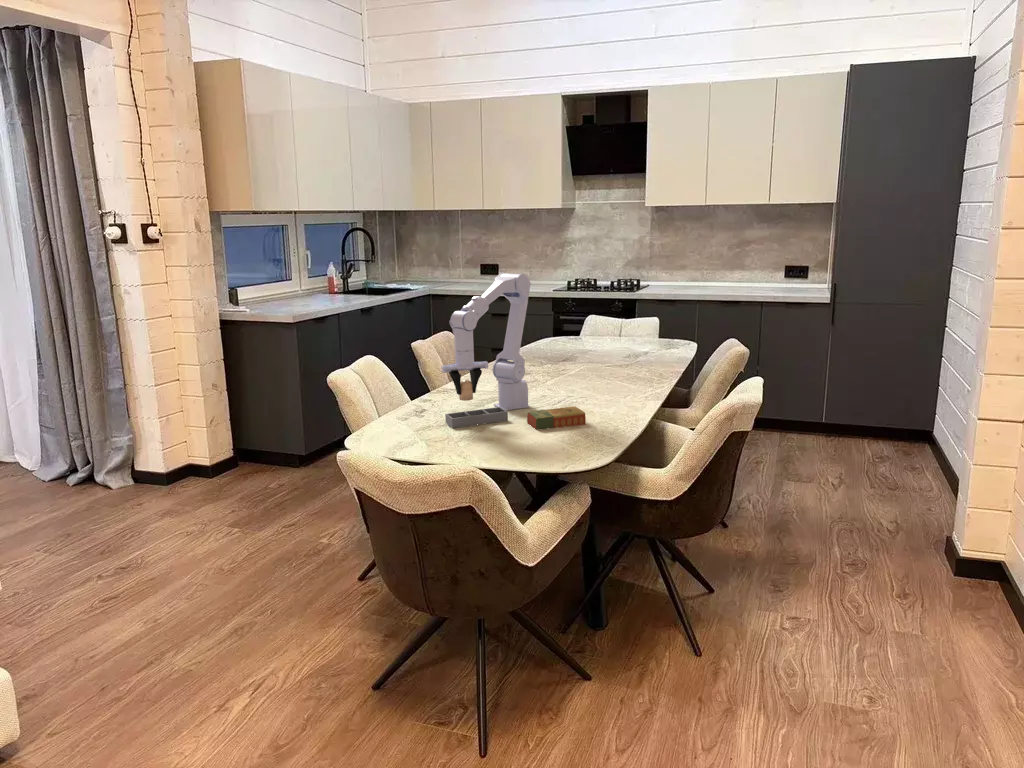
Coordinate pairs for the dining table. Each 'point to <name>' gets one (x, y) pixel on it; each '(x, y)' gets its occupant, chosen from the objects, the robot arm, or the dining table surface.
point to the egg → (466, 390)
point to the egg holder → (476, 417)
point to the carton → (556, 418)
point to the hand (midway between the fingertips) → (466, 393)
